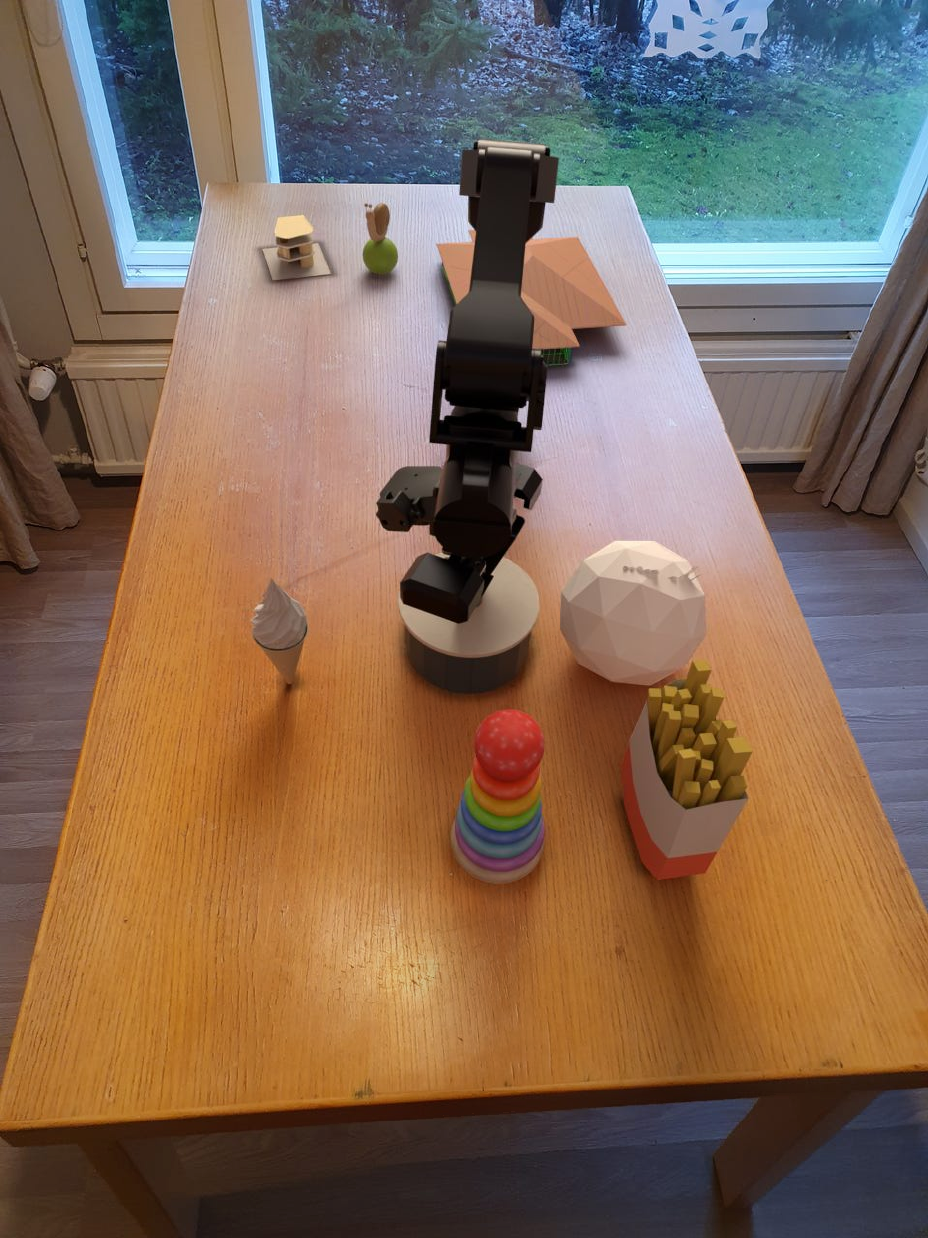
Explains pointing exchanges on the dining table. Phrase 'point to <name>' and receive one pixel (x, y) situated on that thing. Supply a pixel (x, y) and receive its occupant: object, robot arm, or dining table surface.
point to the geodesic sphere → (633, 612)
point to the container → (466, 667)
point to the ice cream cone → (280, 629)
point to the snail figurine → (379, 241)
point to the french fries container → (683, 776)
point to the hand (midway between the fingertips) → (470, 597)
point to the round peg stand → (482, 617)
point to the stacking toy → (502, 801)
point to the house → (546, 289)
